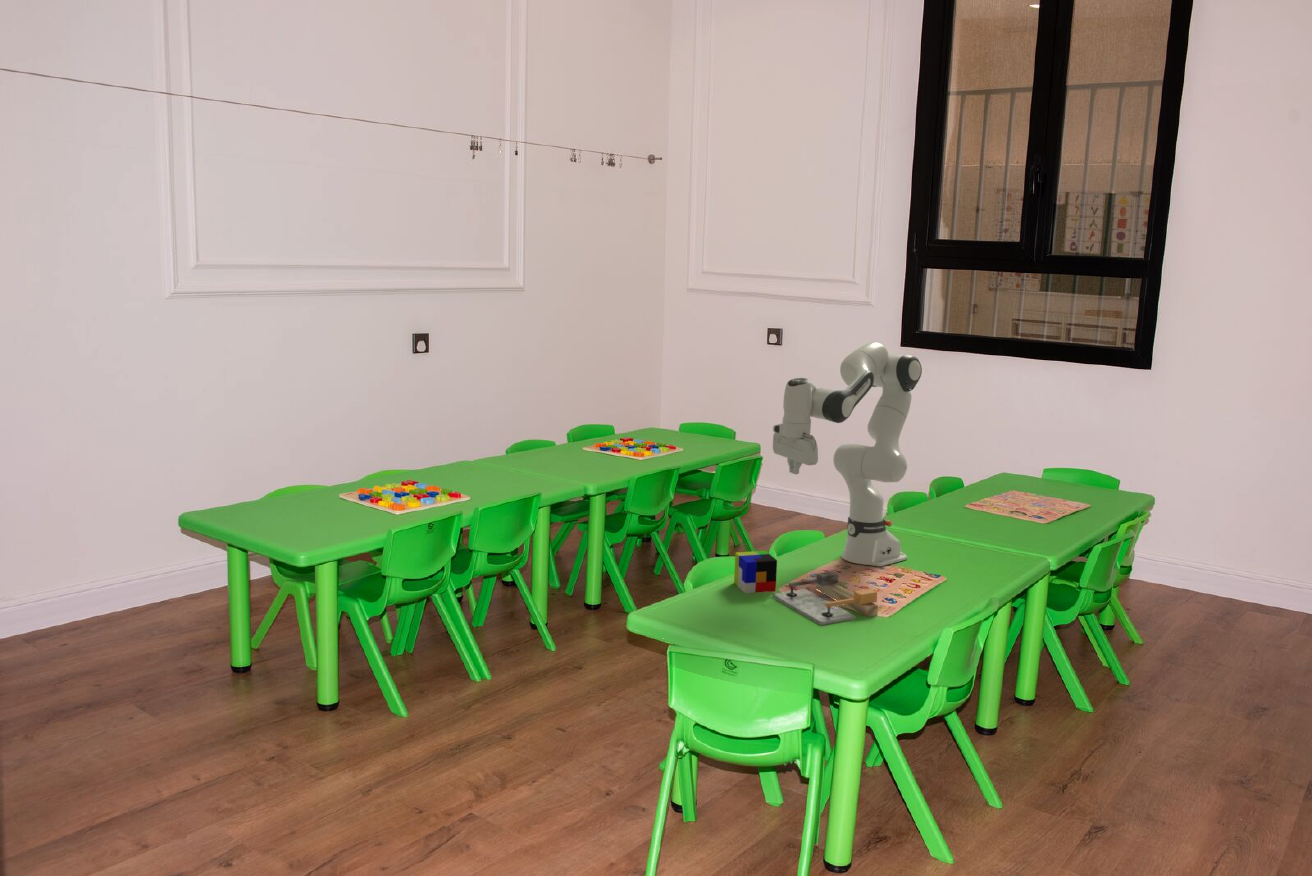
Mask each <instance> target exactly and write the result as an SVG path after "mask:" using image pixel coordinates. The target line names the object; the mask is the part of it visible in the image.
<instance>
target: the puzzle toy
mask: <svg viewBox="0 0 1312 876" xmlns="http://www.w3.org/2000/svg"><path fill="white" fill-rule="evenodd" d="M734 555H735V556H734V574H733V576H734V579H733V583H734V584H735V585H736V586H737V587H738V588H739V589H740V590H741V591H742V592H743V593H744V594H756V593H771V592H777V591H776V589H777V574H778V573H777V571H778V570H777V568H778V559H776V558H775V557H773V556H772V555H771V554H770V553H768V551H766V550H759V551H758V550H757V551H741V552H740V551H738V552H734Z"/></svg>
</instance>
